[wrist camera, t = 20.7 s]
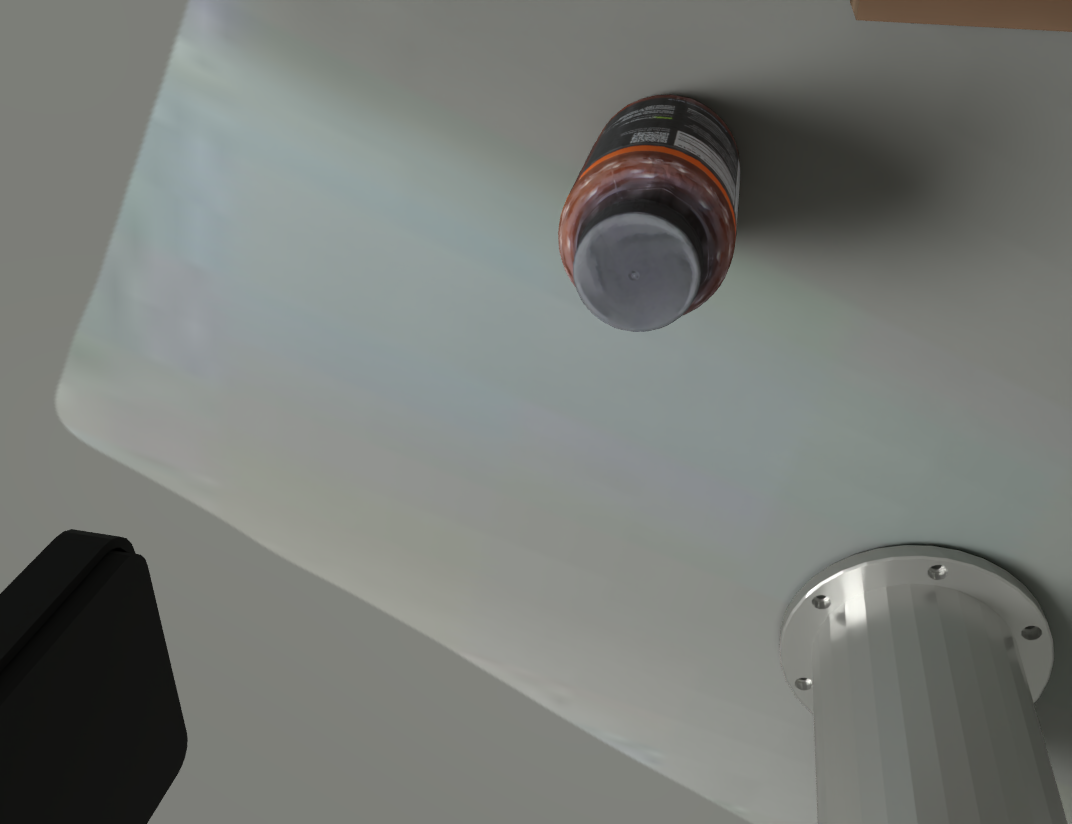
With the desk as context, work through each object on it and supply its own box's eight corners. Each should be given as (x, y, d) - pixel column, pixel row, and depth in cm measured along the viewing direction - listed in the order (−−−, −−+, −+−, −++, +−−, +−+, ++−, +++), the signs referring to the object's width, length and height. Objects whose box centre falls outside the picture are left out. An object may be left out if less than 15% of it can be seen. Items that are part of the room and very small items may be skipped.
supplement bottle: (641, 260, 43) (601, 391, 33) (565, 140, 41) (500, 242, 31) (769, 191, 40) (766, 312, 31) (695, 59, 38) (667, 144, 29)
